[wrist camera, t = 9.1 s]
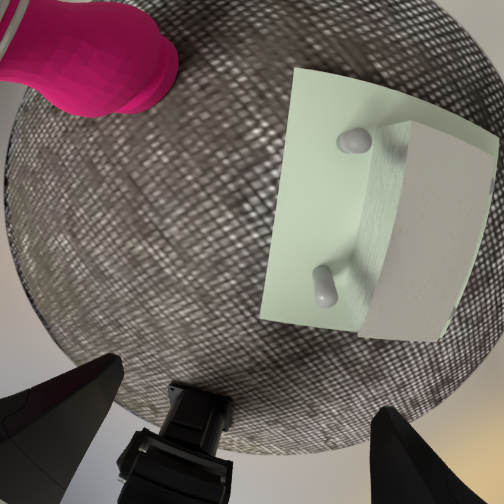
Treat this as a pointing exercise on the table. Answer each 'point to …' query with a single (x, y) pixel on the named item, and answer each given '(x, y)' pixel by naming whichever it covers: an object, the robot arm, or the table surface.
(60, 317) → the table surface
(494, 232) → the table surface
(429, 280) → the block
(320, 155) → the pale green peg board
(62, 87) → the pepper mill
